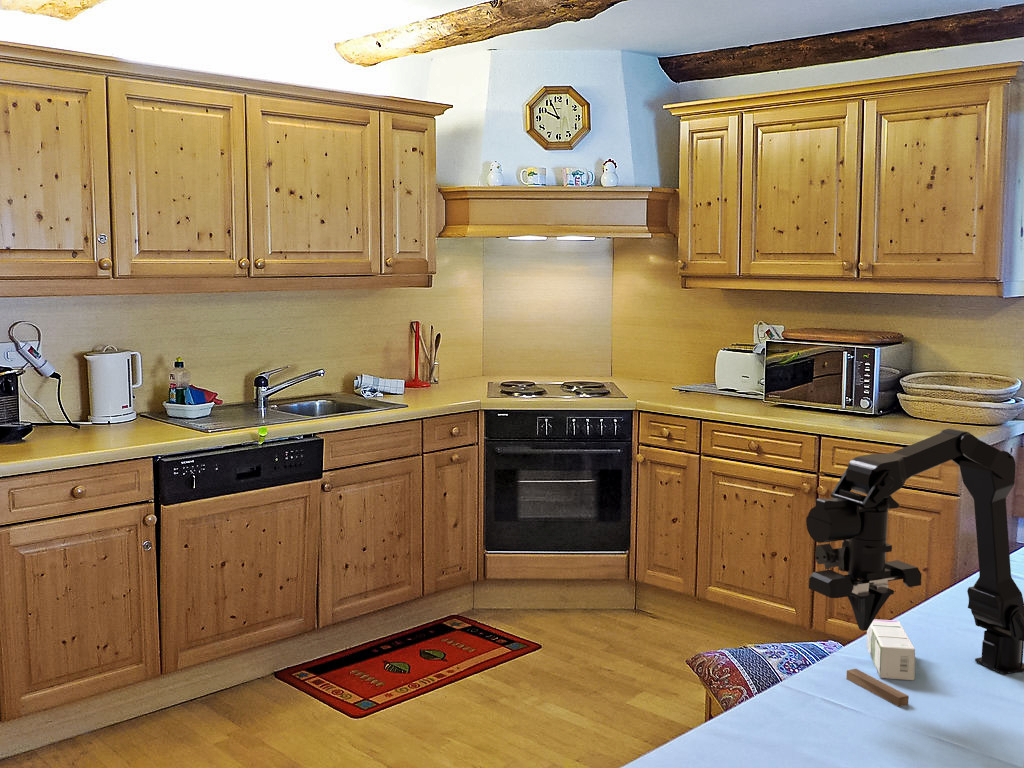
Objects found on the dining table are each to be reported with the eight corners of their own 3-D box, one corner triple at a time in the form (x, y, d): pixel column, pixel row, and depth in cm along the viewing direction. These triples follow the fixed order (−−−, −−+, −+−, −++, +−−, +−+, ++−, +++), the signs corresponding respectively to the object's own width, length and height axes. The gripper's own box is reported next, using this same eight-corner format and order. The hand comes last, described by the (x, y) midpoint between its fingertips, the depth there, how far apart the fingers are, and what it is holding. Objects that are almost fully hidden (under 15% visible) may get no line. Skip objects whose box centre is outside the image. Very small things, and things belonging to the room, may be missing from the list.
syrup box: (916, 648, 175) (901, 619, 189) (879, 646, 176) (867, 617, 190) (914, 681, 175) (899, 650, 189) (878, 678, 176) (865, 647, 190)
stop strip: (855, 677, 177) (856, 668, 177) (908, 704, 166) (908, 695, 166) (846, 678, 176) (846, 670, 176) (898, 706, 165) (899, 697, 165)
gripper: (876, 519, 177) (872, 607, 179) (788, 529, 170) (784, 621, 172) (926, 535, 167) (921, 628, 169) (834, 547, 160) (830, 644, 162)
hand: (863, 630), depth 168 cm, fingers closed
